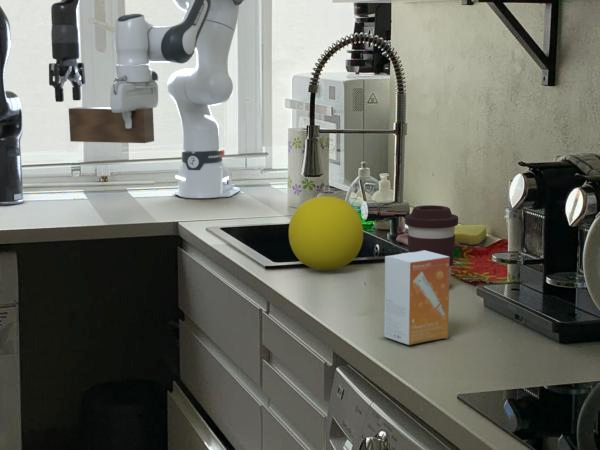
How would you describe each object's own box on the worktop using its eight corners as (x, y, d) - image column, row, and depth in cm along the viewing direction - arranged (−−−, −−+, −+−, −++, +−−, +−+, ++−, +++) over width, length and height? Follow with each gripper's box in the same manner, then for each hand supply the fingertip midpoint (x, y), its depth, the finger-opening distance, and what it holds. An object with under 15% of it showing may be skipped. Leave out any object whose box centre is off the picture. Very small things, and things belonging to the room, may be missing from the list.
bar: (70, 141, 288) (68, 108, 286) (80, 139, 293) (78, 107, 291) (144, 143, 280) (143, 109, 278) (154, 141, 285) (152, 107, 283)
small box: (409, 346, 158) (409, 262, 156) (383, 337, 163) (383, 255, 161) (449, 337, 162) (450, 255, 160) (423, 329, 168) (424, 249, 166)
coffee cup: (400, 280, 202) (400, 204, 200) (450, 279, 203) (451, 203, 201) (409, 292, 193) (410, 212, 190) (462, 291, 193) (463, 211, 191)
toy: (345, 259, 223) (344, 190, 221) (374, 273, 209) (374, 199, 207) (278, 265, 218) (278, 194, 216) (304, 279, 204) (304, 204, 202)
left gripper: (62, 41, 278) (65, 102, 281) (91, 41, 291) (93, 99, 294) (38, 41, 281) (42, 102, 284) (68, 41, 294) (70, 99, 297)
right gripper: (123, 77, 270) (126, 130, 272) (161, 73, 289) (163, 123, 291) (102, 77, 272) (105, 130, 275) (141, 74, 291) (143, 123, 293)
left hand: (68, 101), depth 289 cm, fingers open, 8 cm apart
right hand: (135, 127), depth 283 cm, fingers closed on bar, 5 cm apart
